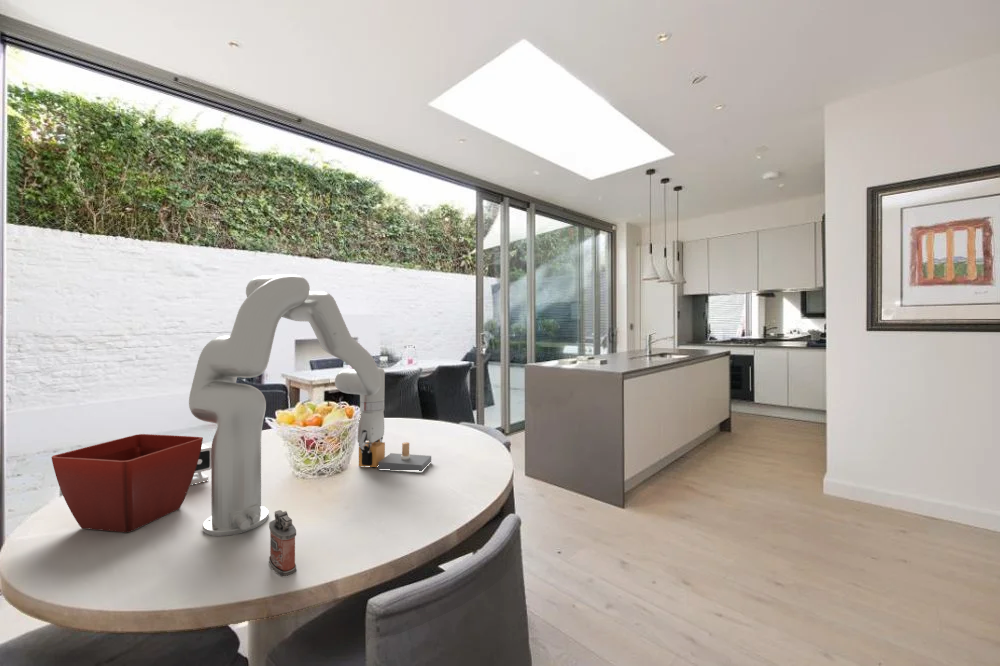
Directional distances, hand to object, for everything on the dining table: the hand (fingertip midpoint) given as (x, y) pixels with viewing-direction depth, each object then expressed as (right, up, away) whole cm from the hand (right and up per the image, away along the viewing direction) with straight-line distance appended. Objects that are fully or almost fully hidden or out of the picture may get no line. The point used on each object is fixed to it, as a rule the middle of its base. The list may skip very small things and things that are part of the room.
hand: (371, 460), depth 133 cm
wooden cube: (0, -1, 0) cm, 1 cm away
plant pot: (-43, -2, -38) cm, 58 cm away
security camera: (-45, -1, -17) cm, 48 cm away
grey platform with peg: (+11, -1, -2) cm, 12 cm away
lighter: (+1, -3, -56) cm, 56 cm away
